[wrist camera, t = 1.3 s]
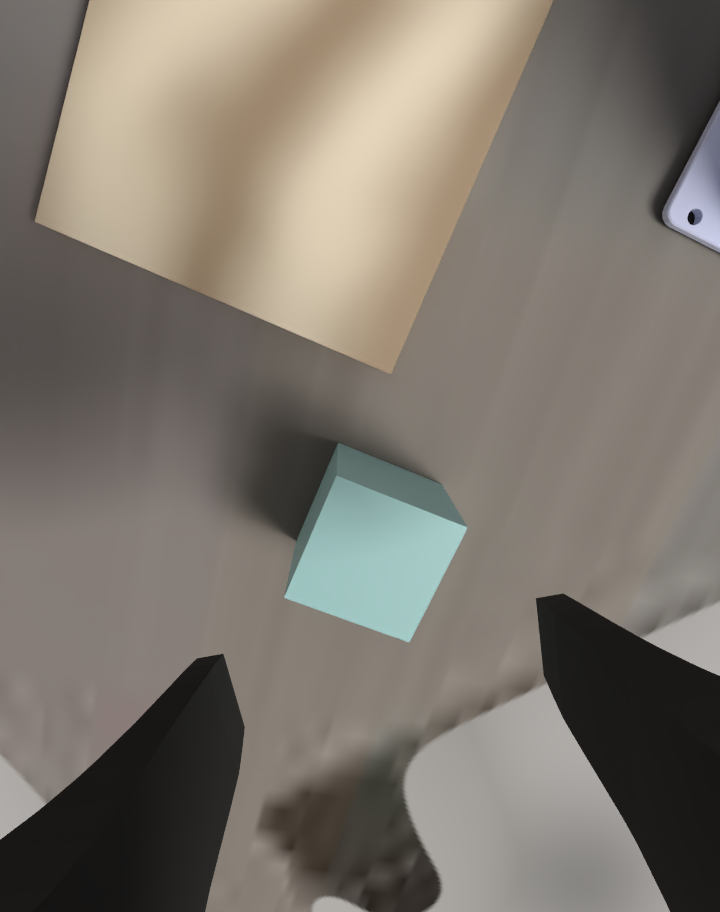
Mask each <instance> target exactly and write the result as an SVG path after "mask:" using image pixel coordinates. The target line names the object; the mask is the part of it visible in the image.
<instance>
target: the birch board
mask: <svg viewBox="0 0 720 912" xmlns="http://www.w3.org/2000/svg"><path fill="white" fill-rule="evenodd" d="M553 1H554V0H89V4H88V8H87V12H86V16H85V20H84V24H83V28H82V33H81V37H80V41H79V45H78V49H77V53H76V57H75V61H74V65H73V69H72V73H71V77H70V81H69V85H68V89H67V93H66V97H65V101H64V105H63V109H62V113H61V117H60V121H59V125H58V129H57V133H56V137H55V141H54V146H53V150H52V154H51V158H50V162H49V166H48V170H47V174H46V178H45V182H44V186H43V190H42V194H41V198H40V202H39V206H38V210H37V214H36V218H35V222H36V223H39V224H41V225H43V226H46V227H48V228H50V229H53V230H55V231H57V232H60V233H62V234H64V235H67V236H69V237H71V238H74V239H76V240H78V241H81V242H83V243H85V244H88V245H90V246H92V247H95V248H97V249H99V250H102V251H104V252H106V253H109V254H111V255H113V256H116V257H118V258H120V259H123V260H125V261H127V262H130V263H132V264H134V265H137V266H139V267H141V268H144V269H146V270H148V271H151V272H153V273H155V274H158V275H160V276H162V277H165V278H167V279H169V280H172V281H174V282H176V283H179V284H181V285H183V286H186V287H188V288H190V289H193V290H195V291H197V292H200V293H202V294H204V295H207V296H209V297H211V298H214V299H216V300H218V301H221V302H223V303H225V304H228V305H230V306H232V307H235V308H237V309H239V310H242V311H244V312H246V313H249V314H251V315H253V316H256V317H258V318H260V319H263V320H265V321H267V322H270V323H272V324H274V325H277V326H279V327H281V328H284V329H286V330H288V331H291V332H293V333H295V334H298V335H300V336H302V337H305V338H307V339H309V340H312V341H314V342H316V343H319V344H321V345H323V346H326V347H328V348H330V349H333V350H335V351H337V352H340V353H342V354H344V355H347V356H349V357H351V358H354V359H356V360H358V361H361V362H363V363H365V364H368V365H370V366H372V367H375V368H377V369H379V370H382V371H384V372H386V373H389V374H391V373H392V371H393V368H394V366H395V364H396V361H397V359H398V357H399V354H400V352H401V350H402V348H403V345H404V343H405V341H406V338H407V336H408V334H409V331H410V329H411V327H412V325H413V322H414V320H415V318H416V315H417V313H418V311H419V309H420V306H421V304H422V302H423V299H424V297H425V295H426V292H427V290H428V288H429V286H430V283H431V281H432V279H433V276H434V274H435V272H436V269H437V267H438V265H439V263H440V260H441V258H442V256H443V253H444V251H445V249H446V246H447V244H448V242H449V240H450V237H451V235H452V233H453V230H454V228H455V226H456V223H457V221H458V219H459V217H460V214H461V212H462V210H463V207H464V205H465V203H466V201H467V198H468V196H469V194H470V191H471V189H472V187H473V184H474V182H475V180H476V178H477V175H478V173H479V171H480V168H481V166H482V164H483V161H484V159H485V157H486V155H487V152H488V150H489V148H490V145H491V143H492V141H493V138H494V136H495V134H496V132H497V129H498V127H499V125H500V122H501V120H502V118H503V116H504V113H505V111H506V109H507V106H508V104H509V102H510V99H511V97H512V95H513V93H514V90H515V88H516V86H517V83H518V81H519V79H520V76H521V74H522V72H523V70H524V67H525V65H526V63H527V60H528V58H529V56H530V53H531V51H532V49H533V47H534V44H535V42H536V40H537V37H538V35H539V33H540V30H541V28H542V26H543V24H544V21H545V19H546V17H547V14H548V12H549V10H550V8H551V5H552V3H553Z"/></svg>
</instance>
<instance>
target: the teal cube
mask: <svg viewBox="0 0 720 912" xmlns="http://www.w3.org/2000/svg"><path fill="white" fill-rule="evenodd" d="M467 528H468V527H467V526H466V524H465V522H464V521H463V519H462V517H461V516H460V514H459V512H458V511H457V509H456V507H455V506H454V504H453V502H452V501H451V499H450V497H449V496H448V494H447V492H446V491H445V489H444V487H443V486H442V484H440V483H437V482H435V481H432V480H430V479H427V478H425V477H422V476H420V475H417V474H415V473H412V472H410V471H407V470H405V469H402V468H400V467H397V466H395V465H393V464H390V463H388V462H385V461H383V460H380V459H378V458H375V457H373V456H370V455H368V454H365V453H363V452H360V451H358V450H355V449H353V448H350V447H348V446H346V445H343V444H341V443H338V444H337V446H336V449H335V451H334V454H333V456H332V458H331V461H330V463H329V465H328V468H327V470H326V472H325V475H324V477H323V479H322V482H321V484H320V487H319V489H318V491H317V494H316V496H315V498H314V501H313V503H312V505H311V508H310V510H309V512H308V515H307V517H306V520H305V522H304V524H303V527H302V529H301V531H300V534H299V536H298V538H297V541H296V545H295V550H294V554H293V559H292V563H291V568H290V572H289V577H288V582H287V586H286V591H285V595H284V598H286V599H289V600H292V601H295V602H298V603H300V604H303V605H306V606H309V607H311V608H314V609H317V610H320V611H323V612H325V613H328V614H331V615H334V616H337V617H339V618H342V619H345V620H348V621H351V622H353V623H356V624H359V625H362V626H365V627H367V628H370V629H373V630H376V631H379V632H381V633H384V634H387V635H390V636H393V637H395V638H398V639H401V640H404V641H407V642H410V640H411V638H412V636H413V634H414V632H415V630H416V628H417V626H418V624H419V622H420V620H421V618H422V616H423V614H424V612H425V610H426V608H427V607H428V605H429V603H430V601H431V599H432V597H433V595H434V593H435V591H436V589H437V587H438V585H439V583H440V581H441V579H442V577H443V575H444V573H445V571H446V569H447V567H448V565H449V563H450V561H451V559H452V557H453V555H454V553H455V552H456V550H457V548H458V546H459V544H460V542H461V540H462V538H463V536H464V534H465V532H466V530H467Z"/></svg>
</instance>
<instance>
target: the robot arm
mask: <svg viewBox="0 0 720 912" xmlns="http://www.w3.org/2000/svg"><path fill="white" fill-rule="evenodd" d="M690 211H692V212H693V213H694V216H695V220H694V223H693V224H692V225H691V224H690V223H689V222H688V219H687V217H688V213H689V212H690ZM662 216H663V221H664V223H665V224H666V225H667V226H668V227H670V228H672V229H674V230H676V231H678V232H680V233H682V234H684V235H686V236H688V237H690V238H692V239H694V240H696V241H698V242H700V243H701V244H703V245H705V246H707V247H709V248H711V249H713V250H715V251H717V252H719V253H720V101H719V103H718V105H717V107H716V109H715V111H714V113H713V115H712V116H711V118H710V120H709V122H708V124H707V126H706V128H705V130H704V132H703V134H702V136H701V137H700V139H699V141H698V143H697V145H696V147H695V149H694V151H693V153H692V155H691V157H690V158H689V160H688V162H687V164H686V166H685V168H684V170H683V172H682V174H681V176H680V178H679V179H678V181H677V183H676V185H675V187H674V189H673V191H672V193H671V195H670V197H669V199H668V200H667V202H666V204H665V206H664V209H663V212H662ZM536 603H537V612H538V622H539V632H540V642H541V652H542V662H543V672H544V677H545V679H546V681H547V683H548V686H549V688H550V690H551V693H552V695H553V697H554V699H555V701H556V703H557V706H558V708H559V710H560V712H561V714H562V717H563V718H564V720H565V722H566V724H567V725H568V727H569V729H570V730H571V732H572V734H573V736H574V737H575V739H576V741H577V742H578V744H579V746H580V747H581V749H582V751H583V752H584V754H585V756H586V757H587V759H588V760H589V762H590V764H591V766H592V767H593V769H594V771H595V772H596V774H597V776H598V777H599V779H600V781H601V782H602V784H603V786H604V787H605V789H606V791H607V792H608V794H609V796H610V797H611V799H612V801H613V802H614V803H615V806H616V807H617V809H618V810H619V812H620V814H621V815H622V817H623V819H624V821H625V822H626V824H627V826H628V828H629V830H630V831H631V833H632V835H633V837H634V839H635V841H636V842H637V844H638V846H639V848H640V850H641V852H642V854H643V857H644V858H645V860H646V862H647V865H648V867H649V869H650V870H651V873H652V875H653V877H654V879H655V881H656V883H657V885H658V887H659V889H660V891H661V893H662V895H663V897H664V899H665V901H666V903H667V906H668V908H669V910H670V912H720V676H718V675H716V674H713V673H711V672H709V671H707V670H705V669H702V668H700V667H698V666H696V665H693V664H691V663H689V662H687V661H685V660H683V659H681V658H679V657H677V656H675V655H673V654H671V653H669V652H666V651H665V650H663V649H660V648H659V647H657V646H655V645H653V644H651V643H649V642H647V641H645V640H644V639H642V638H640V637H638V636H636V635H634V634H633V633H631V632H629V631H627V630H625V629H624V628H622V627H620V626H618V625H617V624H615V623H613V622H611V621H610V620H608V619H606V618H604V617H603V616H601V615H599V614H598V613H596V612H594V611H592V610H591V609H589V608H587V607H586V606H584V605H582V604H581V603H579V602H577V601H575V600H574V599H572V598H570V597H568V596H566V595H565V594H558V595H553V596H547V597H541V598H536ZM244 728H245V727H244V723H243V720H242V717H241V713H240V710H239V706H238V703H237V699H236V696H235V692H234V689H233V686H232V682H231V679H230V675H229V672H228V668H227V665H226V662H225V658H224V655H223V654H220V655H214V656H208V657H203V658H197V659H196V660H195V661H194V662H193V663H192V664H191V665H190V666H189V667H188V668H187V669H186V670H185V671H184V672H183V673H182V674H181V675H180V676H179V677H178V678H177V679H176V680H175V681H174V682H173V684H172V685H171V686H170V687H169V688H168V689H167V690H166V691H165V692H164V693H163V694H162V695H161V696H160V697H159V698H158V699H157V701H156V702H155V703H154V704H153V705H152V706H151V707H150V708H149V709H148V710H147V711H146V712H145V713H144V714H143V715H142V716H141V717H140V718H139V719H138V720H137V721H136V723H135V724H134V725H133V726H132V727H131V728H130V729H129V730H127V731H126V732H125V733H124V734H123V735H122V736H121V737H120V738H119V739H118V740H117V741H116V742H115V743H114V744H113V745H112V746H111V747H110V748H109V749H108V750H107V751H106V752H105V753H104V754H103V755H102V756H101V757H100V758H99V759H98V760H97V761H96V762H95V763H93V764H92V765H91V766H90V767H89V768H88V769H87V770H86V771H85V772H84V773H82V774H81V775H80V776H79V777H78V778H77V779H76V780H75V781H73V782H72V783H71V784H70V785H69V786H68V787H66V788H65V789H64V790H63V791H62V792H60V793H59V794H58V795H57V796H56V797H55V798H53V799H52V800H51V801H50V802H49V803H47V804H46V805H45V806H44V807H42V808H41V809H40V810H39V811H38V812H36V813H35V814H34V815H32V816H31V817H30V818H28V819H27V820H26V821H25V822H23V823H22V824H20V825H19V826H18V827H17V828H15V829H14V830H13V831H11V832H10V833H9V834H7V835H6V836H5V837H4V838H2V839H1V840H0V912H205V909H206V904H207V900H208V895H209V891H210V886H211V882H212V879H213V875H214V871H215V867H216V863H217V859H218V855H219V851H220V847H221V843H222V839H223V835H224V831H225V828H226V824H227V820H228V816H229V812H230V808H231V804H232V800H233V796H234V792H235V788H236V783H237V779H238V775H239V769H240V762H241V754H242V746H243V737H244Z"/></svg>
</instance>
